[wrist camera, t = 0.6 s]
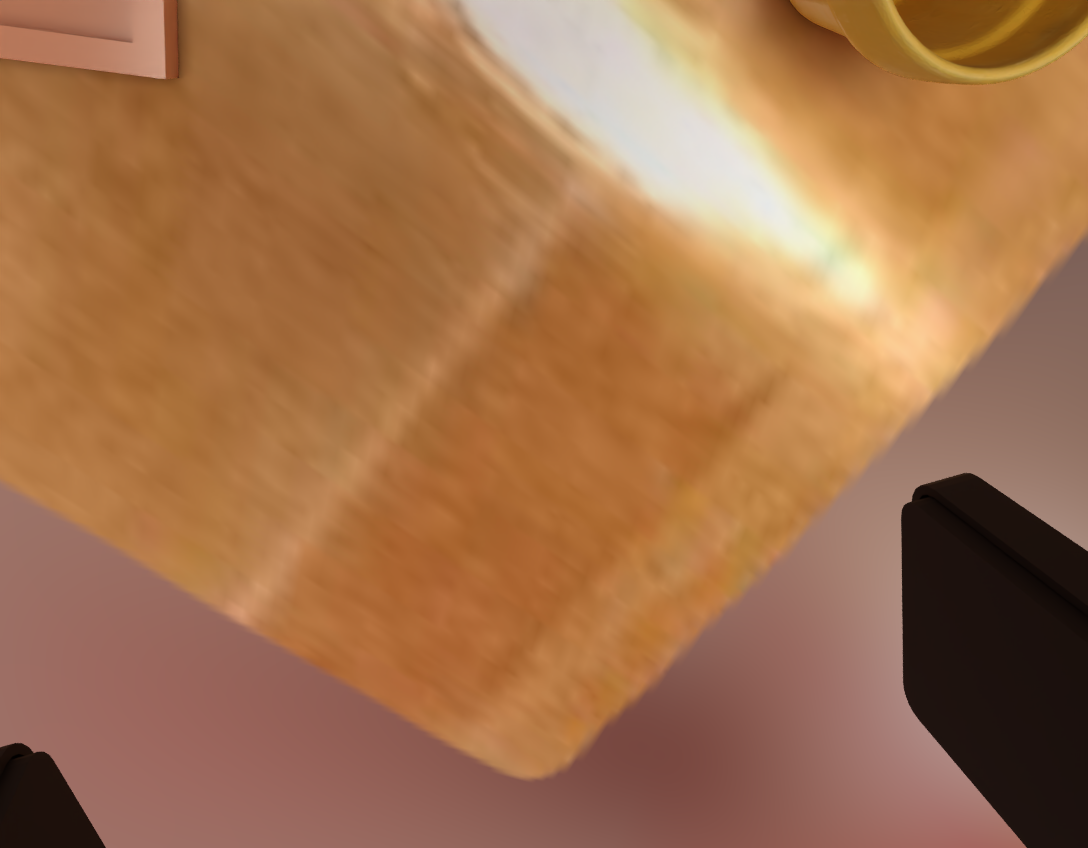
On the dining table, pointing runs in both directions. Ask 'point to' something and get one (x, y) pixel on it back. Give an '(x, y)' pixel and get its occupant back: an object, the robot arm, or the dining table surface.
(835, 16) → the plant pot
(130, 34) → the terracotta tray
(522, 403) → the dining table surface
